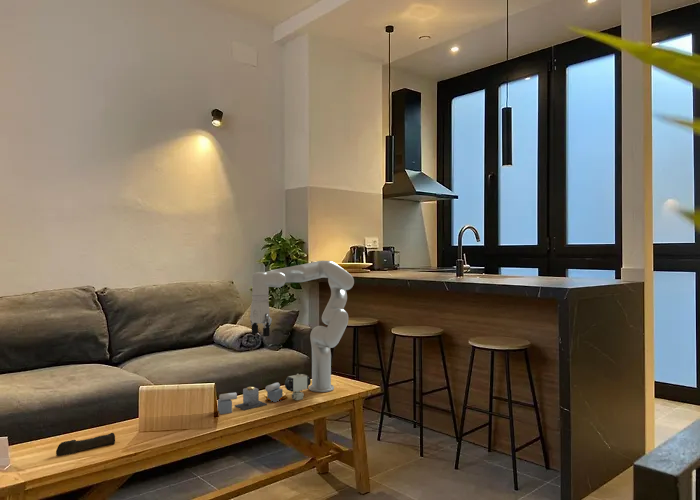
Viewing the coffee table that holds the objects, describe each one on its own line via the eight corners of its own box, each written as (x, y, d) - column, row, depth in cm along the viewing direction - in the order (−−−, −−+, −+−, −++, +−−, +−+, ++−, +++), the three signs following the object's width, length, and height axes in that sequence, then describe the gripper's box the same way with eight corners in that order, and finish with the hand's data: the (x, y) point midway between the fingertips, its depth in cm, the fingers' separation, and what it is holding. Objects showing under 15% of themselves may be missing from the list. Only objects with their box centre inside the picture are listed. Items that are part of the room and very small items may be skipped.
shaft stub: (234, 408, 234) (234, 391, 234) (237, 411, 229) (237, 393, 229) (217, 411, 230) (217, 393, 230) (220, 414, 226) (220, 396, 226)
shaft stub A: (274, 397, 250) (274, 381, 250) (282, 399, 247) (282, 382, 247) (263, 401, 244) (263, 385, 244) (271, 403, 241) (271, 386, 241)
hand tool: (112, 441, 195) (112, 429, 195) (115, 445, 191) (115, 432, 191) (54, 454, 183) (54, 441, 183) (57, 458, 180) (57, 444, 180)
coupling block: (252, 402, 242) (252, 385, 241) (258, 404, 238) (258, 387, 238) (243, 404, 238) (243, 387, 238) (249, 406, 234) (249, 389, 234)
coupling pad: (257, 401, 245) (257, 399, 245) (267, 405, 239) (267, 403, 239) (234, 406, 237) (234, 405, 237) (243, 410, 231) (243, 409, 231)
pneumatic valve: (310, 398, 250) (310, 372, 250) (289, 402, 242) (289, 376, 242) (304, 395, 254) (304, 370, 254) (283, 399, 247) (283, 374, 247)
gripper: (243, 297, 251) (243, 333, 251) (263, 300, 238) (263, 338, 239) (257, 296, 256) (257, 331, 256) (277, 299, 243) (277, 336, 244)
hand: (260, 334), depth 247 cm, fingers open, 9 cm apart
